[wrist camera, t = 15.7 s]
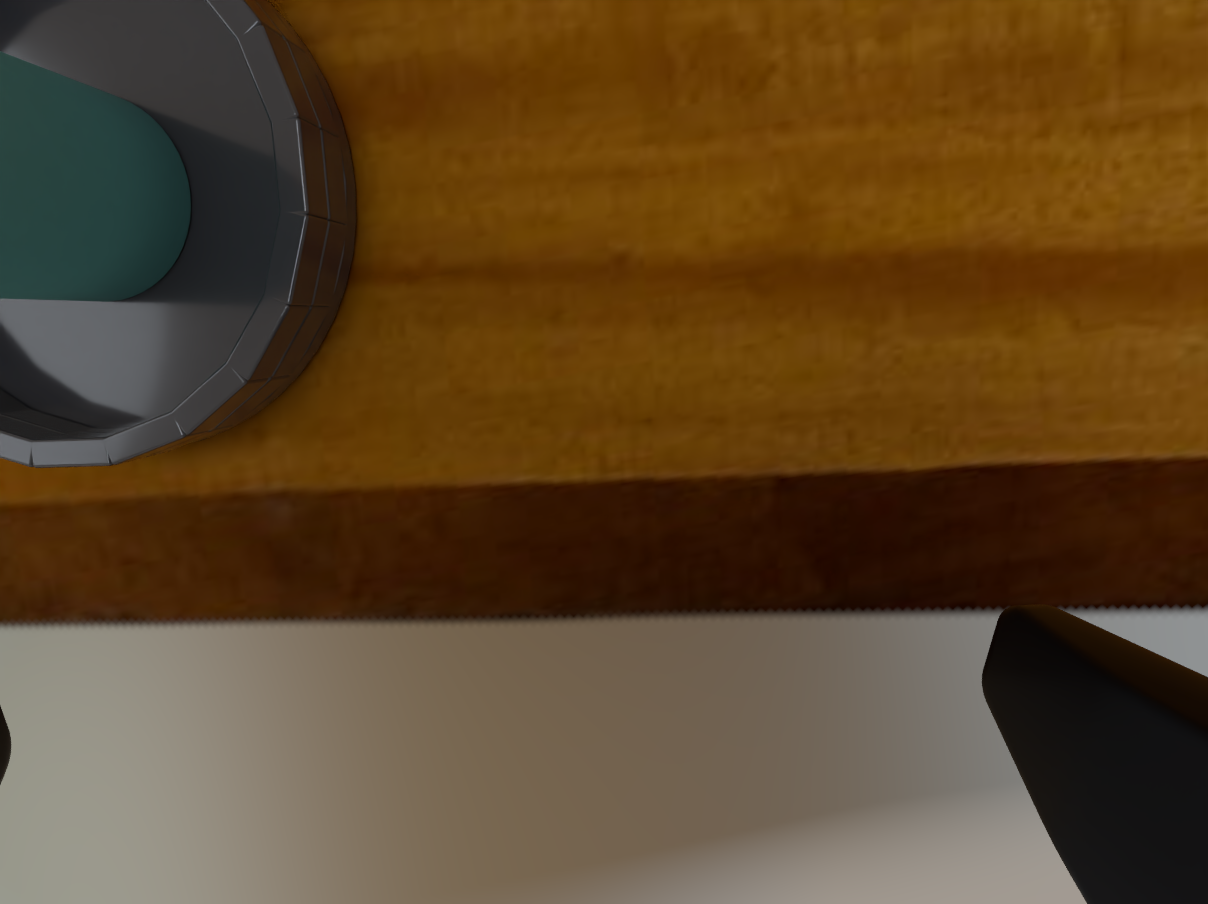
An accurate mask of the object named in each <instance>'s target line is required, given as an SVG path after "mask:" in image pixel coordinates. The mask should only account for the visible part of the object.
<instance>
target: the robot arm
mask: <svg viewBox="0 0 1208 904" xmlns="http://www.w3.org/2000/svg"><path fill="white" fill-rule="evenodd" d="M982 687H983V692H984V696H985V699H986V702H987V704H988V706H989V708H990V710H991V713H992V715H993V717H994V719H995V721H996V723H997V725H998V728H999V730H1000V732H1001V734H1002V736H1003V738H1004V741H1005V743H1006V745H1007V747H1008V749H1009V751H1010V753H1011V756H1012V758H1013V760H1014V762H1015V764H1016V766H1017V769H1018V771H1019V773H1020V775H1021V777H1022V779H1023V781H1024V783H1025V786H1026V788H1027V790H1028V792H1029V794H1030V796H1031V799H1032V801H1033V803H1034V805H1035V807H1036V809H1037V812H1038V814H1039V816H1040V818H1041V820H1042V822H1043V824H1044V826H1045V828H1046V830H1047V832H1048V834H1049V836H1050V838H1051V840H1052V842H1053V844H1054V846H1055V848H1056V850H1057V851H1058V853H1059V855H1060V857H1061V859H1062V861H1063V862H1064V864H1065V866H1066V868H1067V870H1068V871H1069V873H1070V875H1071V876H1072V878H1073V880H1074V882H1075V883H1076V885H1077V887H1078V889H1079V890H1080V892H1081V893H1082V895H1083V897H1084V899H1085V901H1086V902H1087V904H1208V677H1206V676H1204V675H1202V674H1200V673H1197V672H1195V671H1193V670H1191V669H1189V668H1186V667H1184V666H1182V665H1180V664H1178V663H1176V662H1173V661H1171V660H1169V659H1167V658H1165V657H1163V656H1160V655H1158V654H1156V653H1154V652H1152V651H1150V650H1147V649H1145V648H1143V647H1141V646H1139V645H1136V644H1134V643H1132V642H1130V641H1128V640H1126V639H1123V638H1121V637H1119V636H1117V635H1115V634H1112V633H1110V632H1108V631H1106V630H1104V629H1102V628H1099V627H1097V626H1095V625H1093V624H1091V623H1089V622H1086V621H1084V620H1082V619H1080V618H1078V617H1076V616H1073V615H1071V614H1069V613H1067V612H1065V611H1063V610H1060V609H1058V608H1056V607H1053V606H1050V605H1022V606H1011V607H1009V608H1007V609H1005V610H1004V611H1003V612H1002V613H1001V615H1000V616H999V619H998V621H997V625H996V628H995V631H994V635H993V639H992V642H991V645H990V648H989V652H988V655H987V659H986V662H985V666H984V669H983V674H982ZM10 754H11V737H10V732H9V729H8V726H7V723H6V720H5V718H4V715H3V712H2V709H1V707H0V784H1V781H2V779H3V777H4V774H5V772H6V769H7V766H8V763H9V759H10Z"/></svg>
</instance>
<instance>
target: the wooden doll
mask: <svg viewBox="0 0 1208 904" xmlns="http://www.w3.org/2000/svg"><path fill="white" fill-rule="evenodd" d="M190 217H191V195H190V188H189V182H188V177H187V174H186V171H185V167H184V164H183V162H182V160H181V158H180V155H179V153H178V151H177V149H176V148H175V146H174V144H173V142H172V141H171V139H170V138H169V137H168V135H167V134H166V133H165V131H164V130H163V129H162V127H161V126H160V125H159V124H158V123H157V122H156V121H155V120H154V119H153V118H152V117H151V116H149V115H148V114H147V113H146V112H144V111H143V110H142V109H140V108H139V107H137V106H136V105H134V104H132V103H131V102H129V101H126V100H124V99H122V98H120V97H117V96H115V95H112V94H110V93H107V92H104V91H102V90H99V89H97V88H94V87H91V86H89V85H86V84H84V83H81V82H78V81H76V80H73V79H71V78H68V77H66V76H63V75H60V74H58V73H55V72H53V71H50V70H47V69H45V68H42V67H40V66H37V65H34V64H32V63H29V62H27V61H24V60H21V59H19V58H16V57H14V56H11V55H9V54H6V53H3V52H1V51H0V299H31V300H66V301H102V302H109V301H117V300H123V299H126V298H130V297H133V296H135V295H137V294H140V293H142V292H144V291H145V290H147V289H148V288H150V287H152V286H153V285H154V284H156V283H157V282H158V281H159V280H160V279H161V278H163V277H164V275H165V274H166V273H167V272H168V271H169V270H170V269H171V267H172V266H173V264H174V263H175V261H176V260H177V258H178V257H179V254H180V252H181V250H182V248H183V246H184V243H185V240H186V237H187V234H188V229H189V224H190Z"/></svg>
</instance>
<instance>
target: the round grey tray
mask: <svg viewBox="0 0 1208 904" xmlns="http://www.w3.org/2000/svg"><path fill="white" fill-rule="evenodd" d="M0 51H1V52H3V53H6V54H9V55H11V56H14V57H16V58H19V59H21V60H24V61H27V62H29V63H32V64H34V65H37V66H40V67H42V68H45V69H47V70H50V71H53V72H55V73H58V74H60V75H63V76H66V77H68V78H71V79H73V80H76V81H78V82H81V83H84V84H86V85H89V86H91V87H94V88H97V89H99V90H102V91H104V92H107V93H110V94H112V95H115V96H117V97H120V98H122V99H124V100H126V101H129V102H131V103H132V104H134V105H136V106H137V107H139V108H140V109H142V110H143V111H144V112H146V113H147V114H148V115H149V116H151V117H152V118H153V119H154V120H155V121H156V122H157V123H158V124H159V125H160V126H161V127H162V129H163V130H164V131H165V133H166V134H167V135H168V137H169V138H170V139H171V141H172V142H173V144H174V146H175V148H176V149H177V151H178V153H179V155H180V158H181V160H182V162H183V164H184V167H185V171H186V174H187V177H188V182H189V188H190V195H191V217H190V224H189V229H188V234H187V237H186V240H185V243H184V246H183V248H182V250H181V252H180V254H179V257H178V258H177V260H176V261H175V263H174V264H173V266H172V267H171V269H170V270H169V271H168V272H167V273H166V274H165V275H164V277H163V278H161V279H160V280H159V281H158V282H157V283H156V284H154V285H153V286H152V287H150V288H148V289H147V290H145V291H144V292H142V293H140V294H137V295H135V296H133V297H130V298H126V299H123V300H117V301H109V302H102V301H66V300H31V299H0V458H3V459H6V460H10V461H13V462H16V463H19V464H23V465H26V466H29V467H36V468H51V467H86V466H111V465H117V464H121V463H125V462H129V461H133V460H137V459H141V458H144V457H149V456H152V455H156V454H160V453H164V452H168V451H171V450H174V449H176V448H179V447H182V446H184V445H187V444H189V443H192V442H196V441H200V440H204V439H207V438H209V437H212V436H214V435H216V434H219V433H221V432H224V431H226V430H229V429H231V428H233V427H235V426H236V425H238V424H240V423H242V422H243V421H245V420H247V419H248V418H250V417H252V416H253V415H255V414H257V413H258V412H259V411H261V410H262V409H263V408H264V407H266V406H267V405H268V404H269V403H271V402H272V401H273V400H274V399H276V398H277V397H278V396H279V395H281V394H282V393H283V392H284V390H285V389H286V388H287V387H288V386H289V385H290V384H291V383H292V382H293V381H294V380H295V379H296V378H297V377H298V376H299V375H300V373H301V372H302V371H303V370H304V368H305V367H306V365H307V364H308V363H309V361H310V360H311V358H312V357H313V356H314V354H315V353H316V351H317V350H318V348H319V347H320V345H321V343H322V341H323V339H324V338H325V336H326V334H327V332H328V330H329V328H330V326H331V324H332V322H333V320H334V318H335V316H336V313H337V310H338V307H339V305H340V302H341V299H342V296H343V294H344V291H345V288H346V284H347V280H348V275H349V271H350V266H351V262H352V257H353V250H354V240H355V230H356V189H355V180H354V173H353V166H352V160H351V153H350V148H349V145H348V141H347V137H346V134H345V130H344V126H343V123H342V119H341V116H340V113H339V111H338V108H337V106H336V103H335V101H334V99H333V96H332V94H331V91H330V89H329V86H328V84H327V82H326V80H325V78H324V76H323V75H322V73H321V71H320V69H319V67H318V66H317V64H316V62H315V60H314V59H313V57H312V55H311V53H310V51H309V50H308V49H307V47H306V46H305V44H304V43H303V42H302V40H301V39H300V38H299V36H298V35H297V34H296V32H295V31H294V29H293V28H292V27H291V25H290V24H289V23H288V21H287V20H286V19H285V18H284V17H283V16H282V15H281V14H280V13H279V12H278V11H277V10H276V9H275V8H274V7H273V6H272V5H271V4H270V2H269V1H268V0H0Z"/></svg>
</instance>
